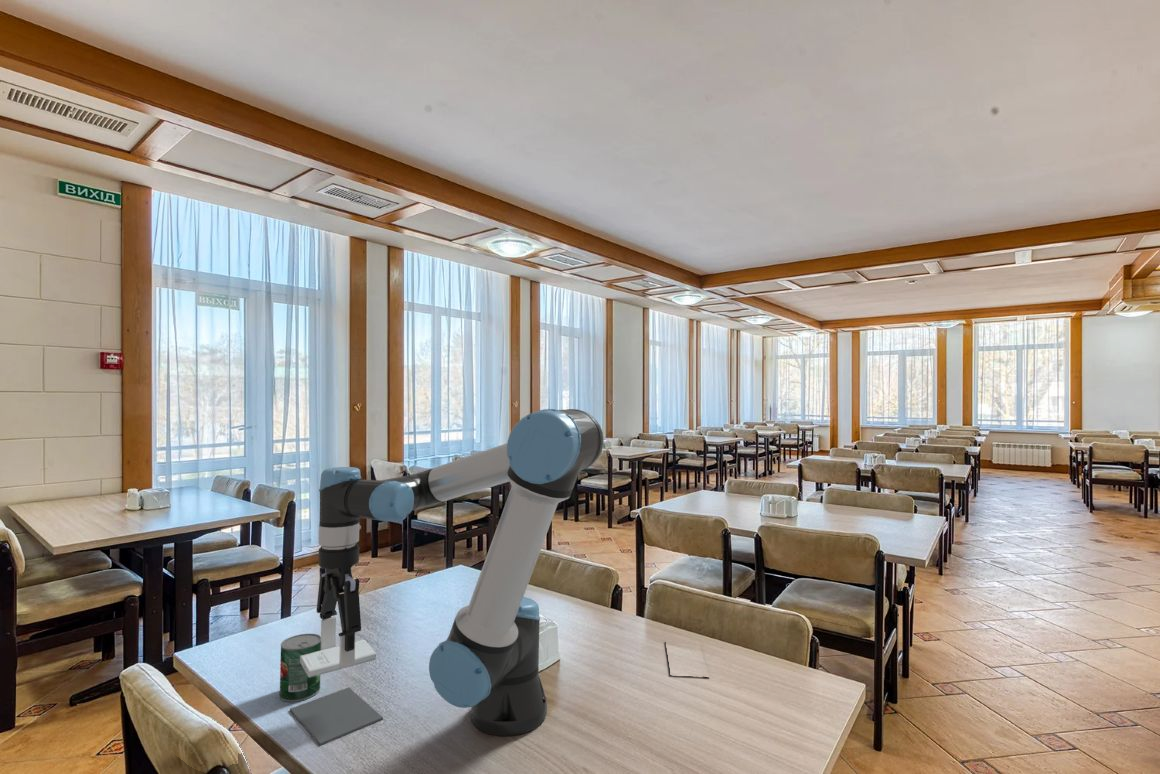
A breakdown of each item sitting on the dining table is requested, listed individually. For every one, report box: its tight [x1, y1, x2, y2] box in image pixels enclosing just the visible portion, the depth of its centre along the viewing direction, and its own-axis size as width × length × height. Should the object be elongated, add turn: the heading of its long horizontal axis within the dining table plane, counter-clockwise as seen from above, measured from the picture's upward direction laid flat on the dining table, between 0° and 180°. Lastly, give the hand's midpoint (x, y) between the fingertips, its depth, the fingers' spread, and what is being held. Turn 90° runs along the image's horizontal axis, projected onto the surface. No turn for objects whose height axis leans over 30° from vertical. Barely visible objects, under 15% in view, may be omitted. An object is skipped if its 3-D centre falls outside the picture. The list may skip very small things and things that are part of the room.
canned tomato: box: [279, 633, 321, 703], centre depth 121 cm, size 8×8×11 cm
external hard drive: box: [300, 639, 377, 678], centre depth 113 cm, size 2×8×12 cm
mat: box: [289, 687, 384, 746], centre depth 112 cm, size 16×12×1 cm
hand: (337, 657), depth 113 cm, fingers closed on external hard drive, 9 cm apart
